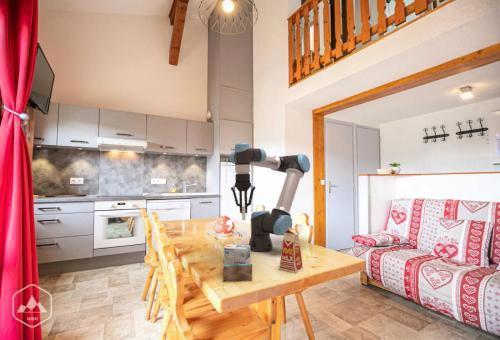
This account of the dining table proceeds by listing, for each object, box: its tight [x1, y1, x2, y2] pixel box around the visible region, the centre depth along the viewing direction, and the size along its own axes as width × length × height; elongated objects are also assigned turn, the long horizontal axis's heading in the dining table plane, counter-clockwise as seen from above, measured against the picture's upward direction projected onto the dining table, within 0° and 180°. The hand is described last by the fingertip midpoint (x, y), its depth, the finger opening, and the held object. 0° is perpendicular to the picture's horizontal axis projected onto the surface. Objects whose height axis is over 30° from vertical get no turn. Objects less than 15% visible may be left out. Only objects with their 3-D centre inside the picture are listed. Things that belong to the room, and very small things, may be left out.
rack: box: [223, 263, 253, 283], centre depth 118 cm, size 12×28×7 cm, turn 5°
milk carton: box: [278, 227, 304, 274], centre depth 119 cm, size 9×9×20 cm
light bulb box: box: [223, 243, 251, 266], centre depth 111 cm, size 11×7×11 cm, turn 72°
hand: (243, 219), depth 126 cm, fingers closed
